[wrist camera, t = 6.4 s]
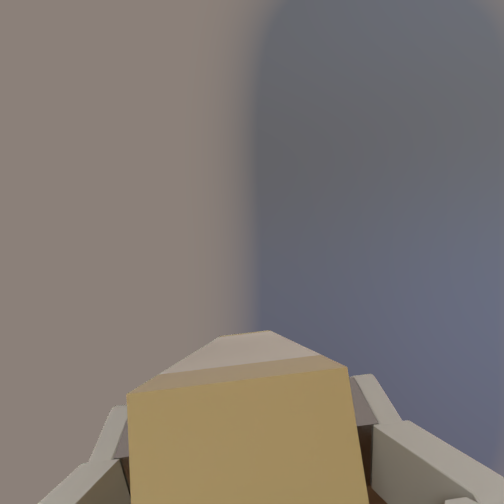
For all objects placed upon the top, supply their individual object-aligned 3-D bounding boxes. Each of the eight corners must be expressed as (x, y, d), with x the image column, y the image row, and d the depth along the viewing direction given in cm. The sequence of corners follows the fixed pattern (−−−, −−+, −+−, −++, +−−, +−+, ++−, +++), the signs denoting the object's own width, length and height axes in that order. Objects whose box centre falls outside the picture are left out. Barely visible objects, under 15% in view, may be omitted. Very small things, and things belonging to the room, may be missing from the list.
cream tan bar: (388, 627, 5) (347, 367, 6) (137, 665, 5) (126, 394, 5) (275, 381, 24) (269, 330, 25) (225, 387, 24) (220, 336, 25)
